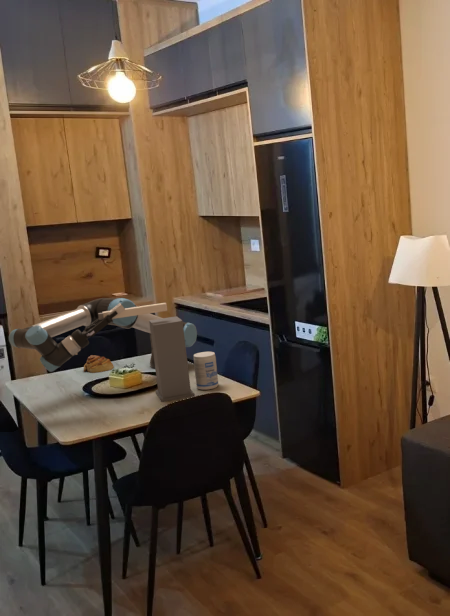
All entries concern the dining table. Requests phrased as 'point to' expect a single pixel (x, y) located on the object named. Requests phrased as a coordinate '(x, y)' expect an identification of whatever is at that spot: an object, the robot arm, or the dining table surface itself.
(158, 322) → the stand
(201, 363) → the supplement tub
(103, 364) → the pastry
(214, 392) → the dining table surface
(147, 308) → the beige square bar
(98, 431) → the dining table surface
